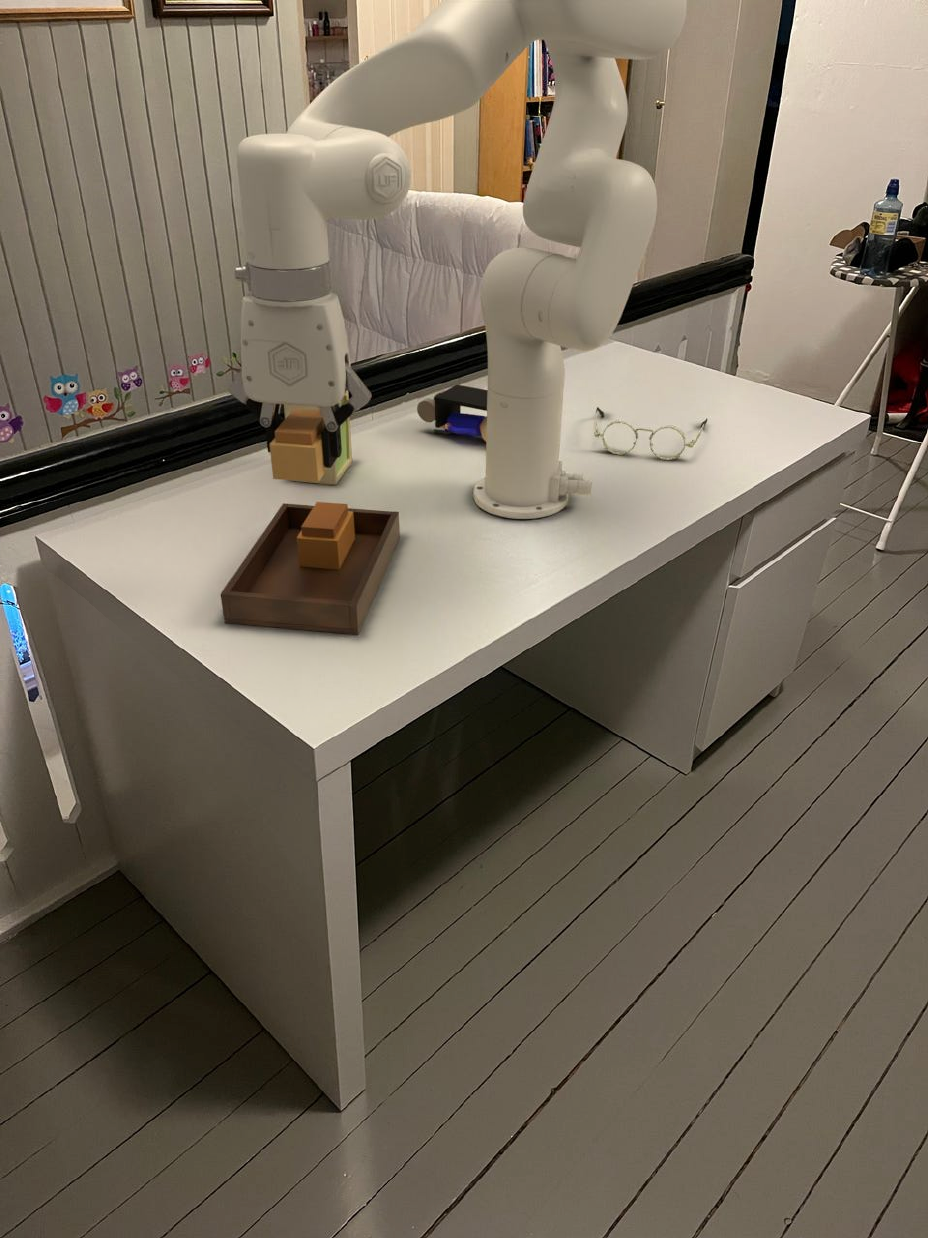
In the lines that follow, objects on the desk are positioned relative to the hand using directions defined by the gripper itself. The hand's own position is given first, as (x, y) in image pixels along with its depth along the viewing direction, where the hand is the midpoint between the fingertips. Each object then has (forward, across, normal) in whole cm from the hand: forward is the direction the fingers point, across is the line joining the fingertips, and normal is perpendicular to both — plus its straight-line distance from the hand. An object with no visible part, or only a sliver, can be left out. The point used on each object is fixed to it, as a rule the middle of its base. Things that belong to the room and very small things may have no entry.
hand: (305, 459), depth 99 cm
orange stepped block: (+15, 0, +6) cm, 16 cm away
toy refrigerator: (+15, -7, +30) cm, 34 cm away
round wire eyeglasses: (+15, +38, +50) cm, 64 cm away
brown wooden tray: (+15, 0, +2) cm, 15 cm away
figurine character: (+15, +11, +46) cm, 49 cm away
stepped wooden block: (+1, 0, 0) cm, 1 cm away
